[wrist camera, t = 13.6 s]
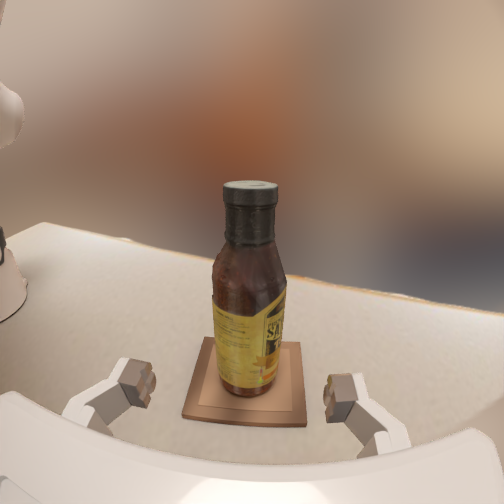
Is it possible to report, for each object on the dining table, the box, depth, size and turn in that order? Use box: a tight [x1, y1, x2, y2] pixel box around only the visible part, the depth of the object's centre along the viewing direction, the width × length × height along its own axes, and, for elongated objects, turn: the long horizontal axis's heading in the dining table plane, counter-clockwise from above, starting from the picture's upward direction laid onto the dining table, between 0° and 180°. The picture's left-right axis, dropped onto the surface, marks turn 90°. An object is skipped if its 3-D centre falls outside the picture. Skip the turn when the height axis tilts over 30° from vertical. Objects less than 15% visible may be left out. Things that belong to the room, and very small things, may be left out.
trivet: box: [182, 337, 307, 427], centre depth 27 cm, size 12×12×1 cm
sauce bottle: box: [212, 181, 287, 396], centre depth 23 cm, size 6×6×20 cm
